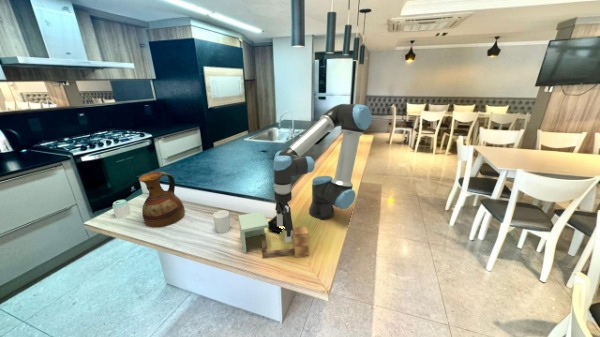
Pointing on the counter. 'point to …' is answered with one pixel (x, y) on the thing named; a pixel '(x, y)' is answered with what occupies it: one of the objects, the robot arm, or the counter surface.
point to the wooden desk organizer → (299, 248)
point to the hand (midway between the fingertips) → (283, 233)
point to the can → (121, 209)
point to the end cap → (275, 225)
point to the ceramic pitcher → (161, 201)
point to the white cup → (222, 221)
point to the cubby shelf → (251, 226)
